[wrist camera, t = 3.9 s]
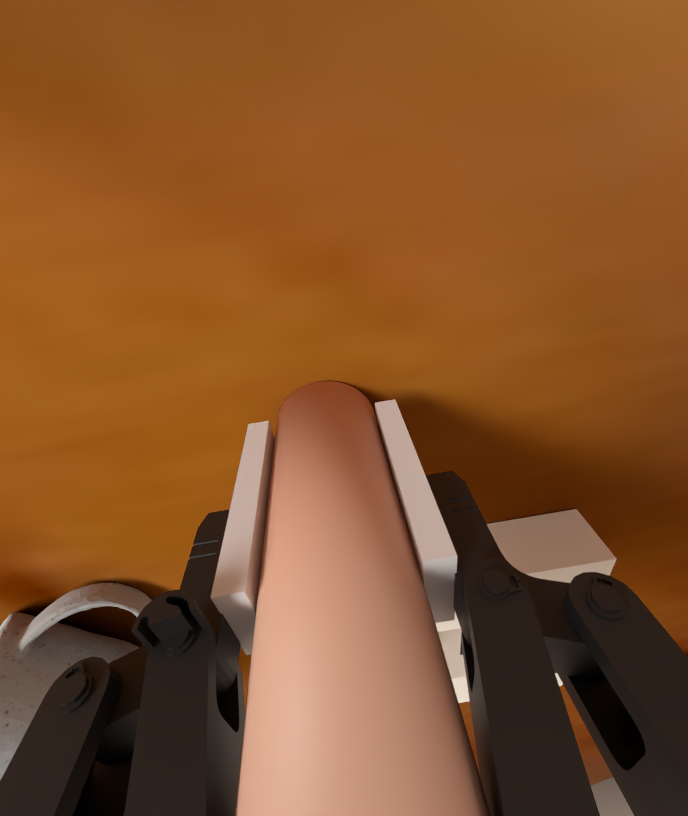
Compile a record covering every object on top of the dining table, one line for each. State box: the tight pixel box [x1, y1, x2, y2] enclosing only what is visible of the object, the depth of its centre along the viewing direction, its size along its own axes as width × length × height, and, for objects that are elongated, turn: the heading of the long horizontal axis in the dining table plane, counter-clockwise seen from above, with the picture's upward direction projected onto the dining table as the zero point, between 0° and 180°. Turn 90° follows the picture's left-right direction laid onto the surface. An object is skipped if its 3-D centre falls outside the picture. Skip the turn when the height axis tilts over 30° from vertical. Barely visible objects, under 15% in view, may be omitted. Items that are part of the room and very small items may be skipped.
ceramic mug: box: [0, 583, 152, 780], centre depth 18 cm, size 11×8×8 cm
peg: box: [234, 381, 491, 816], centre depth 10 cm, size 4×4×12 cm
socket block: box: [435, 509, 616, 703], centre depth 22 cm, size 14×14×3 cm
